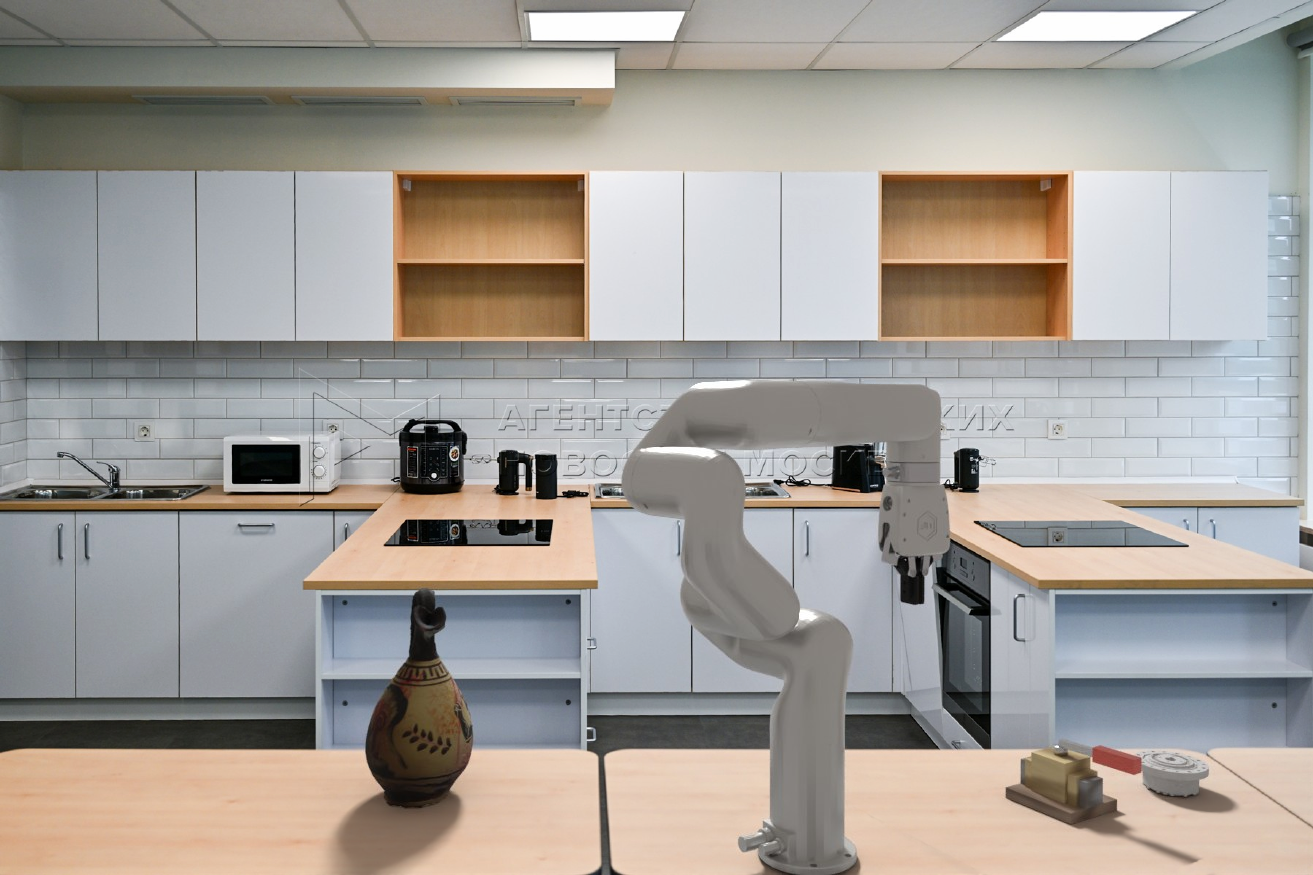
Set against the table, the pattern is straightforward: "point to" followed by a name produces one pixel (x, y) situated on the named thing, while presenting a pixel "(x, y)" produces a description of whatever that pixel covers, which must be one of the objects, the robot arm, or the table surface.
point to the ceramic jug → (420, 720)
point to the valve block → (1061, 786)
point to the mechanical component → (1172, 772)
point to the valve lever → (1102, 756)
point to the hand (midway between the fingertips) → (912, 602)
